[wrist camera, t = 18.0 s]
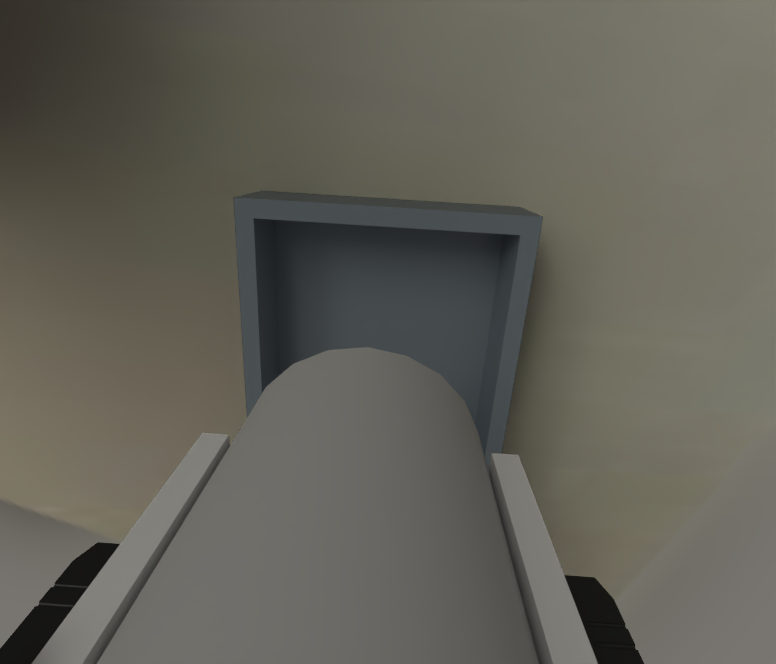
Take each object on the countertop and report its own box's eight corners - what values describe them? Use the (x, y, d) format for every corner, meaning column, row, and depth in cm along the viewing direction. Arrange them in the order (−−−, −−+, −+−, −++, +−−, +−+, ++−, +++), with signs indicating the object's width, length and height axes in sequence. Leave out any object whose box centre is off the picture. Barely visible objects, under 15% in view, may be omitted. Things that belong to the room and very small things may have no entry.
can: (344, 287, 14) (57, 895, 2) (523, 428, 15) (860, 1206, 4) (213, 447, 16) (-254, 1148, 5) (380, 556, 17) (334, 1286, 6)
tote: (261, 190, 28) (233, 197, 24) (520, 207, 28) (543, 216, 23) (274, 500, 37) (255, 549, 32) (471, 514, 37) (481, 566, 32)
